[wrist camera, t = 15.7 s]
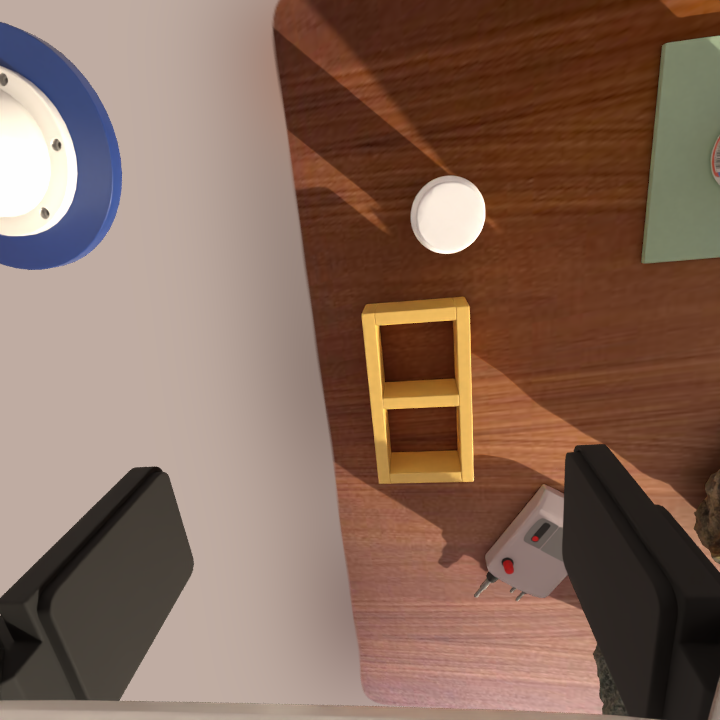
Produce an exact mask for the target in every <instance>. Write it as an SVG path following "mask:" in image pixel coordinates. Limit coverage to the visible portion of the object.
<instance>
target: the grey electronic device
mask: <svg viewBox="0 0 720 720" xmlns="http://www.w3.org/2000/svg"><path fill="white" fill-rule="evenodd" d="M556 469H557V468H556ZM563 511H564V494H563V493H561V492H559V491H558V490H556V489H554V488H552V487H550V486H547V485H545V484H543V485H542V486H541V487H540V489H539V490H538V491H537V492H536V494H535V495H534V496H533V498H532V499H531V500H530V501H529V502H528V504H527V505H526V506H525V507H524V509H523V510H522V511H521V512H520V513H519V515H518V516H517V517H516V518H515V519H514V521H513V522H512V523H511V524H510V526H509V527H508V528H507V529H506V530H505V532H504V533H503V534H502V535H501V537H500V538H499V539H498V540H497V541H496V543H495V544H494V545H493V546H492V548H491V549H490V550H489V551H488V552H487V554H486V555H485V559H486V564H487V568H488V570H489V572H488V573H487V579H486V580H485V581H484V582H483V583H482V585H481V586H480V589H479V590H478V591H477V592H476V593H475V595H474V597H478V596H479V594H480V593H481V592H482V591H484V590H485V589H486V588H487V587H488V585H489V584H490V583H494V582H496V581H497V580H498V579H500V580H501V581H503V582H505V583H507V584H508V585H510V586H512V587H513V588H512V589H511V590H510V592H511V593H513V591H514V590H515V589H518V590H520V591H522V592H521V593H520V595H519V596H518V597H517V598H516V601H519V599H520V598H521V597H522V596H523V595H524V594H530V595H532V596H535V597H539V598H545V597H547V596H548V595H549V594H550V593H551V592H552V591H553V590H554V589H555V588H556V587H557V586H558V585H559V583H560V582H561V581H562V580H563V579H564V578H565V577H566V576H567V575H568V574H567V571H566V569H565V566H564V562H563V556H562V538H563Z"/></svg>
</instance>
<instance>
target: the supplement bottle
mask: <svg viewBox="0 0 720 720" xmlns="http://www.w3.org/2000/svg"><path fill="white" fill-rule="evenodd" d="M484 221H485V203H484V199H483V197H482V194H481V193H480V191H479V190H478V189H477V187H476V186H475V185H474V184H473V183H471V182H470V181H468V180H467V179H465V178H462V177H459V176H450V175H449V176H442V177H438V178H436V179H433V180H432V181H430V182H428V183H427V184H426V185H425V186H423V187H422V188H421V190H420V191H419V192H418V194H417V195H416V197H415V199H414V201H413V204H412V208H411V225H412V229H413V232H414V234H415V236H416V238H417V239H418V240H419V242H420V243H421V244H422V245H423V246H425V247H426V248H428V249H429V250H431V251H433V252H437V253H442V254H450V253H455V252H458V251H461V250H463V249H465V248H466V247H468V246H469V245H470V244H472V243H473V242H474V241H475V239H476V238H477V237H478V235H479V234H480V232H481V230H482V228H483V225H484Z"/></svg>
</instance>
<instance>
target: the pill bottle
mask: <svg viewBox="0 0 720 720" xmlns="http://www.w3.org/2000/svg"><path fill="white" fill-rule="evenodd" d="M711 170H712V174H713V176H714V178H715V180H716V182H717V183H718V184H719V185H720V135H719V136H718V138H717V140H716V142H715V144H714V147H713V150H712V154H711Z"/></svg>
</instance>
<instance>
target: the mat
mask: <svg viewBox="0 0 720 720" xmlns="http://www.w3.org/2000/svg"><path fill="white" fill-rule="evenodd" d="M719 135H720V35H719V36H712V37H705V38H698V39H691V40H684V41H677V42H670V43H666V44H664V45H662V52H661V63H660V73H659V83H658V94H657V104H656V114H655V125H654V135H653V145H652V156H651V166H650V176H649V187H648V197H647V207H646V218H645V228H644V238H643V249H642V259H641V263H644V264H645V263H657V262H669V261H681V260H693V259H705V258H717V257H720V185H719V184H718V183H717V182H716V180H715V178H714V176H713V174H712V170H711V154H712V150H713V147H714V144H715V142H716V140H717V138H718V136H719Z"/></svg>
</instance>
